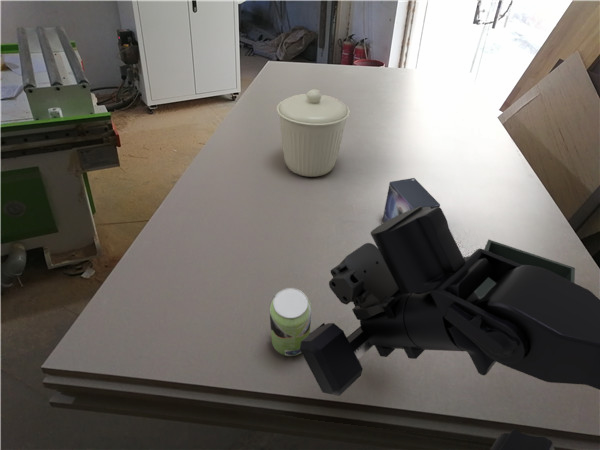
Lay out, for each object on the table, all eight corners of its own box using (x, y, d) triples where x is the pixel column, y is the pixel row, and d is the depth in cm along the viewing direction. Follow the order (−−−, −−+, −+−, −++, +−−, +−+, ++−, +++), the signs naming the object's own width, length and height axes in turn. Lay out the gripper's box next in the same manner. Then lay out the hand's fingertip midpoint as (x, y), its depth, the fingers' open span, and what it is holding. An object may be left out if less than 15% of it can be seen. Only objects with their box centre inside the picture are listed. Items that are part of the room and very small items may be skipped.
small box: (380, 219, 92) (387, 180, 86) (405, 215, 94) (414, 176, 87) (402, 249, 84) (413, 208, 78) (429, 244, 86) (442, 204, 80)
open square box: (557, 356, 65) (573, 334, 62) (461, 317, 71) (471, 295, 67) (561, 288, 77) (575, 267, 74) (479, 260, 83) (488, 239, 79)
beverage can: (307, 326, 68) (311, 276, 60) (311, 366, 62) (316, 315, 55) (269, 327, 67) (269, 277, 60) (270, 367, 62) (269, 316, 54)
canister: (327, 147, 119) (333, 75, 106) (354, 179, 106) (365, 100, 93) (268, 156, 114) (267, 80, 101) (288, 189, 100) (290, 108, 87)
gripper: (439, 208, 44) (351, 237, 57) (319, 293, 34) (245, 305, 47) (484, 298, 45) (386, 306, 57) (379, 409, 34) (289, 389, 47)
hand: (332, 323), depth 52 cm, fingers open, 9 cm apart
